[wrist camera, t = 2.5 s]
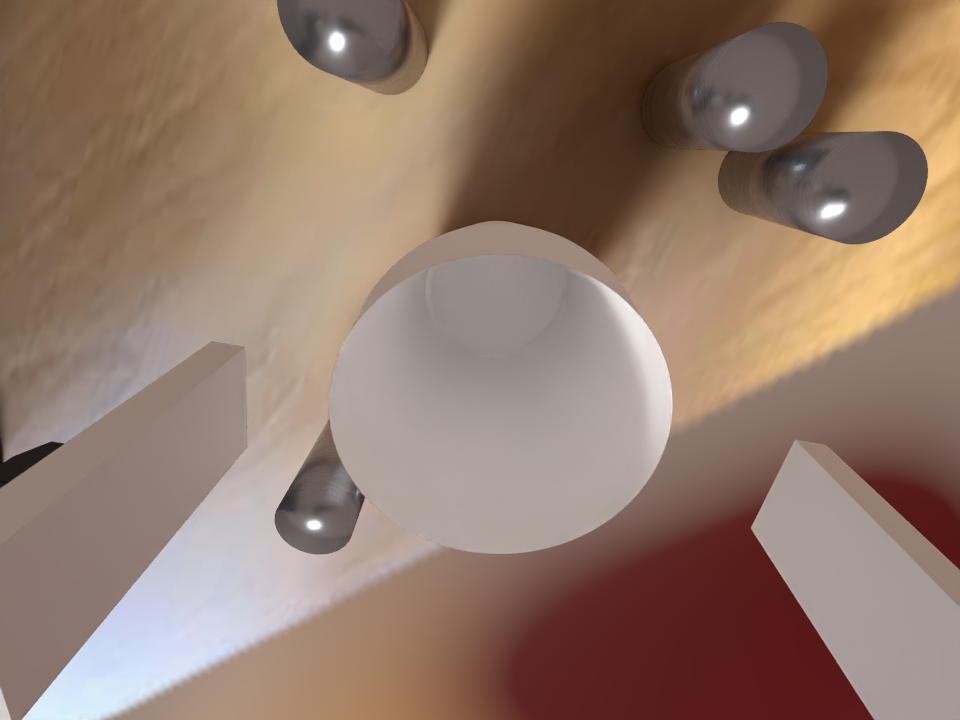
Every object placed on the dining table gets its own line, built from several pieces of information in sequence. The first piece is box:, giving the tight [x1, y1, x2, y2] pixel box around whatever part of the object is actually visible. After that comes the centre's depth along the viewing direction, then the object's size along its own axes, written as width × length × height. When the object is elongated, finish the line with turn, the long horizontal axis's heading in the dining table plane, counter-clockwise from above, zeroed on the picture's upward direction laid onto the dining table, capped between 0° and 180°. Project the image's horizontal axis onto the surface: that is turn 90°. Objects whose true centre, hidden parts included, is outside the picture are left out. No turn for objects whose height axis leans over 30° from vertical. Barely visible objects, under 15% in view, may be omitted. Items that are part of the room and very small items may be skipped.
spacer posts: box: [275, 0, 928, 554], centre depth 21 cm, size 19×21×7 cm
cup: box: [329, 221, 672, 554], centre depth 18 cm, size 9×9×12 cm
